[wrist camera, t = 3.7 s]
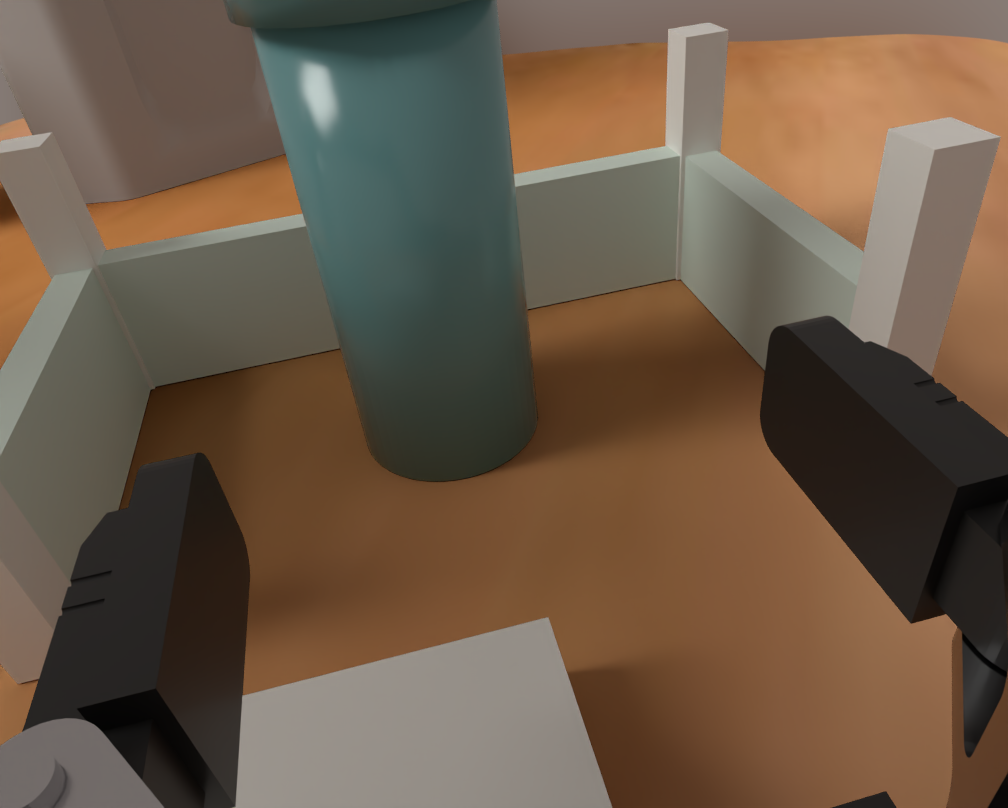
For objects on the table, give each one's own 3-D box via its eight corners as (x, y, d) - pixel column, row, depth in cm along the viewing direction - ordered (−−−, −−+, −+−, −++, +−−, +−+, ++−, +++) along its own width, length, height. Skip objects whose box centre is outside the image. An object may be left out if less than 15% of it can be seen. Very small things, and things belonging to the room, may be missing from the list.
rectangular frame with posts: (905, 464, 21) (1000, 137, 15) (17, 683, 18) (-245, 380, 13) (696, 257, 32) (708, 22, 26) (120, 375, 29) (2, 140, 24)
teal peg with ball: (316, 430, 25) (68, -327, 14) (463, 346, 28) (353, -324, 17) (436, 523, 21) (220, -433, 10) (591, 413, 24) (555, -405, 13)
